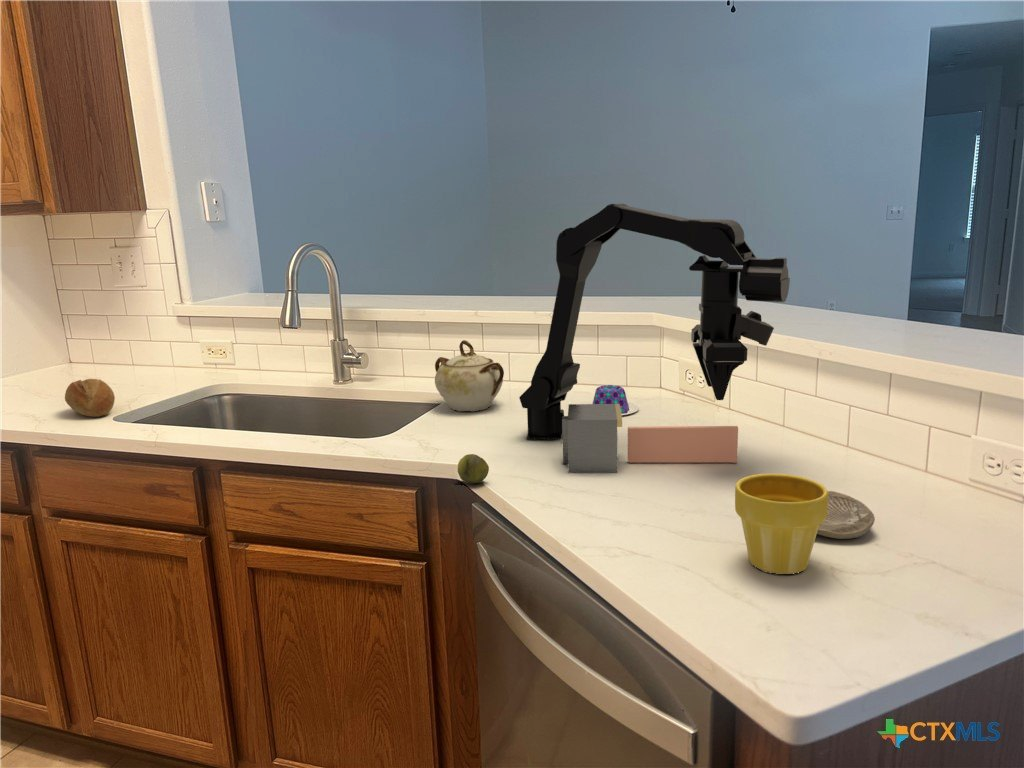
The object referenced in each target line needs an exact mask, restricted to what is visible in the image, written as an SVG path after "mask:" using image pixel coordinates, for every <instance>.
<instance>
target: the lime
mask: <svg viewBox="0 0 1024 768" xmlns="http://www.w3.org/2000/svg"><path fill="white" fill-rule="evenodd" d="M489 467H490V466H489V464H488V463H487V461H486V460H485V459H484V458H482V457H481V456H479V455H477V454H474V453H470V454H466V455H463V457H462V458H460V459H459V461H458V463H457V474H458V476H459V478H460V479H461V480H462V481H463V482H464V483H466V484H470V485H471V484H479V483H481V482H483V481H484V480H485V479H486V478H487V476H488V474H489V471H490V468H489Z"/></svg>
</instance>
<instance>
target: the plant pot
mask: <svg viewBox="0 0 1024 768" xmlns="http://www.w3.org/2000/svg"><path fill="white" fill-rule="evenodd" d="M734 489H735V490H734V508H735V512H736V515H738V517H739V518H740V520H741V525H742V531H743V535H744V540H745V544H746V550H747V555H748V560H749V562H750V564H751V565H752V566H753V565H754V566H755V567H754V566H753V567H754V568H756V567H757V568H759V569H761V570H763V571H762V572H764V571H766V572H765V573H767V572H771V573H776V574H775V575H777V574H793V573H798V572H801V571H803V570H804V569H805V570H807V567H808V566H809V565H808V564H809V561H810V558H811V554H812V551H813V548H814V545H815V540H816V537H817V535H818V534H817V531H818V528H819V525H820V524H821V523H823V522H824V521H825V519H826V516H827V507H828V491H829V490H828V489H827V488H826V487H825V486H824V485H823V484H821V483H820V482H818V481H815V480H813V479H810V478H807V477H803V476H799V475H793V474H786V473H785V474H784V473H759V474H752V475H749V476H745V477H743V478H740V479H739V480H738V481H736V484H735V486H734ZM757 568H756V569H757ZM759 569H758V570H759ZM761 570H760V571H761ZM805 570H804V571H805ZM804 571H803V572H804ZM771 573H770V574H771ZM801 573H802V572H801ZM798 574H799V573H798Z"/></svg>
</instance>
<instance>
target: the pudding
mask: <svg viewBox="0 0 1024 768" xmlns="http://www.w3.org/2000/svg"><path fill="white" fill-rule="evenodd" d="M588 404H620V409H621V415H622V414H623V415H622V416H627V415H631V414H634V413H636V412H637V411H638V410H639V408H640V407H638V405H636V404H634V403H631V402H628V399H627V394H626V390H625V388H623V387H622V386H619V385H614V384H608V385H600V386H597V387H596V389H595V393H594V397H593V401H592V402H590V403H588ZM629 408H631V409H632V410H631V411H630V409H629ZM628 412H629V413H628ZM626 413H627V414H626Z"/></svg>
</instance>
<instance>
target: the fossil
mask: <svg viewBox="0 0 1024 768" xmlns="http://www.w3.org/2000/svg"><path fill="white" fill-rule="evenodd" d="M827 491H828V507H827V516H826V519H825V521H824V522H823V523H821V524H820V525H819V528H818V531H817V535H820V536H823V537H827V538H830V539H839V540H849V539H855V538H859V537H861V536H863V535H864V534H866V533H867V532H869V531H870V530H871V529H872V527H873V525H874V523H875V518H876V517H875V514H874V513H873V511H872V510H871V509H870V508H869V507H868V506H867V505H866V504H864V503H863V502H862V501H860V500H858V499H856V498H854V497H852V496H850V495H847V494H845V493H841V492H837V491H833V490H827Z"/></svg>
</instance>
